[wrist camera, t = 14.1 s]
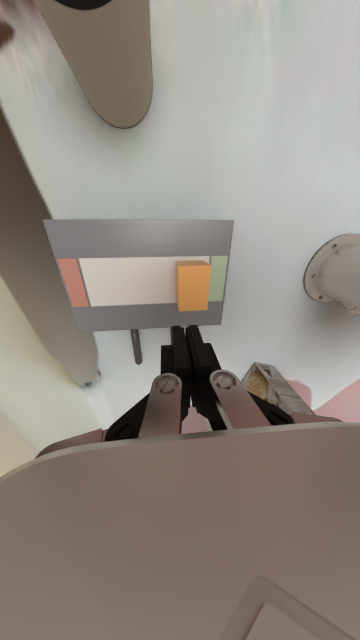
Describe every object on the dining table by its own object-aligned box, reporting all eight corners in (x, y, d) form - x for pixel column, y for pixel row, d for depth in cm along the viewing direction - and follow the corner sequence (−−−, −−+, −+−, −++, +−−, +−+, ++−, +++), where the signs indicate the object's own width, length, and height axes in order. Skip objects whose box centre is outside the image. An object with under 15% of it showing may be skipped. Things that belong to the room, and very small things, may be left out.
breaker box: (221, 221, 27) (234, 220, 23) (208, 356, 40) (215, 372, 36) (63, 221, 25) (41, 219, 21) (102, 364, 38) (95, 382, 33)
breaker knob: (203, 260, 25) (210, 265, 21) (201, 299, 27) (207, 309, 24) (175, 260, 24) (178, 266, 21) (176, 300, 27) (178, 311, 23)
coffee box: (256, 390, 48) (298, 457, 34) (237, 386, 46) (271, 456, 32) (274, 365, 44) (329, 429, 30) (253, 361, 42) (301, 426, 28)
